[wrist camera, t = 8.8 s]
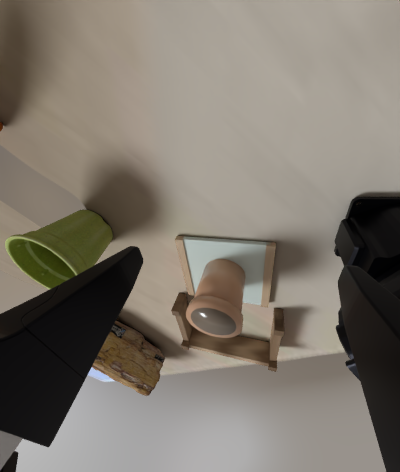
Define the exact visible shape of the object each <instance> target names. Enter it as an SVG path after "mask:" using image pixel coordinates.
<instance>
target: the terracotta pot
mask: <svg viewBox="0 0 400 472" xmlns="http://www.w3.org/2000/svg"><path fill="white" fill-rule="evenodd" d="M245 279H246V275H245V272H244V270H243V269H242V267H241V266H239V265H238V264H237V263H235V262H233V261H230V260H227V259H215V260H212V261H210V262H208V263H207V264H206V266H205V268H204V271H203V274H202V277H201V280H200V282H199V285H198V288H197V291H196V294H195V296H194V299H192V300H191V301H190V303H189V305H188V308H187V311H186V318H187V320H188V321H189V323H190V324H191V325H192V326H193V327H195V328H196V329H197V330H199V331H201V332H203V333H205V334H208V335H211V336H214V337H220V338H230V337H234V336H237V335H238V334H240V332H241V331H242V325H243V315H242V313H241V310H242V302H243V295H244V287H245Z"/></svg>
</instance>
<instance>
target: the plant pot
mask: <svg viewBox="0 0 400 472" xmlns="http://www.w3.org/2000/svg"><path fill="white" fill-rule="evenodd" d="M112 238H113V234H112V230H111V228H110V226H109V225H107V224H106V223H105V222H104V221H103V219H102V217H101V216H99V215H98V214H96V213H94V212H92V211H89V210H80V211H77V212H75V213H73V214H71V215H69V216H67V217H65V218H63V219H60V220H58V221H56V222H54V223H52V224H50V225H47V226H45V227H43V228H41V229H39V230H37V231H31V232H28V233H26V234H23V235H13V236H11V237H9V238H8V239H7V240H6V242H5V247H6V250H7V253H8V254H9V256H10V257H11V259H12V260H13V262H14V263H15V264H16V265H17V266H18V267H19V268H20V269H21V270H22V271H23V272H24V273H25V274H26V275H28V276H29V277H30V278H32V279H33V280H35V281H36V282H38V283H39V284H41V285H43V286H44V287H46V288H48V289H52V288H54V287H55V286H57V285H60V284H61V283H63V282H65V281H67V280H68V279H70V278H72V277H74V276H76V275H78V274H80V273H81V272H83V271H85V270H87V269H89V268H91V267H93V266H94V265H95V263H96V262H97V261H98V259H99V258H100V256H101V255H102V253H103V252H104V251H105V249H106V248H107V246H108V245H109V244H110V242H111V240H112Z"/></svg>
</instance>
